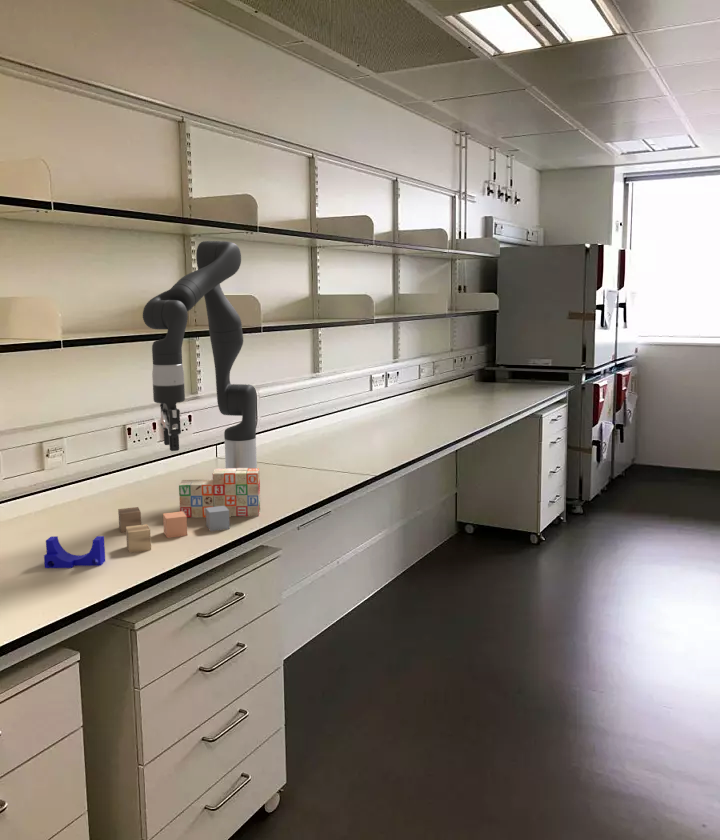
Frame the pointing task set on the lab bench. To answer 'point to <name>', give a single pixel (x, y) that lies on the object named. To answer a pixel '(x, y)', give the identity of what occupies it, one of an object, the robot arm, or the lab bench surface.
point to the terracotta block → (175, 524)
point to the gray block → (217, 518)
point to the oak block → (138, 538)
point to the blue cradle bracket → (63, 559)
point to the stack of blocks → (222, 493)
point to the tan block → (129, 518)
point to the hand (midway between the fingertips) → (171, 447)
